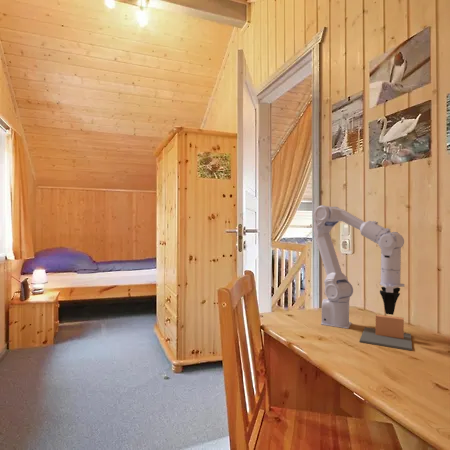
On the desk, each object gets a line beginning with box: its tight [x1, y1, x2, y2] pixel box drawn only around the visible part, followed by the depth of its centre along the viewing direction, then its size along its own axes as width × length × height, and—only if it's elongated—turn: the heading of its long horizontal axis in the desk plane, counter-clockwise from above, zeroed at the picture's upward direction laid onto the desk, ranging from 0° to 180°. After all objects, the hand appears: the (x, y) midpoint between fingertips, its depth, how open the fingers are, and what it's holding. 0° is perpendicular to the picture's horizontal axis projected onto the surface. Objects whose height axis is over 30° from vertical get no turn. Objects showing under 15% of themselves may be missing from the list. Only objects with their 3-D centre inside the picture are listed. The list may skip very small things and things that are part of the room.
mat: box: [359, 326, 413, 352], centre depth 105 cm, size 14×16×1 cm
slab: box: [375, 314, 405, 339], centre depth 106 cm, size 8×2×6 cm, turn 62°
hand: (389, 311), depth 106 cm, fingers open, 7 cm apart
